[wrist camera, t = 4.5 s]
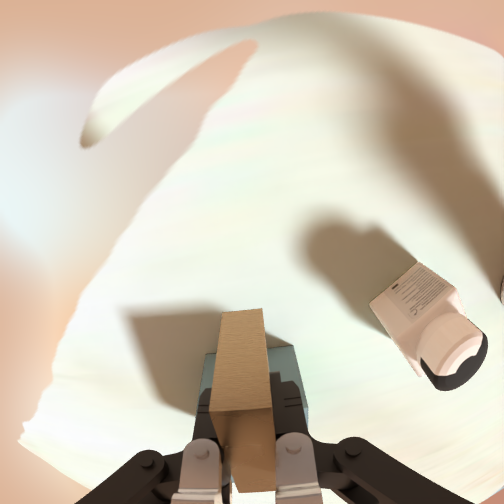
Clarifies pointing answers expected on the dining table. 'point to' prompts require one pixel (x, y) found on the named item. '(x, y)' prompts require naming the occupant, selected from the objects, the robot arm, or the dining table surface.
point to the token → (244, 401)
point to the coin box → (277, 361)
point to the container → (431, 327)
